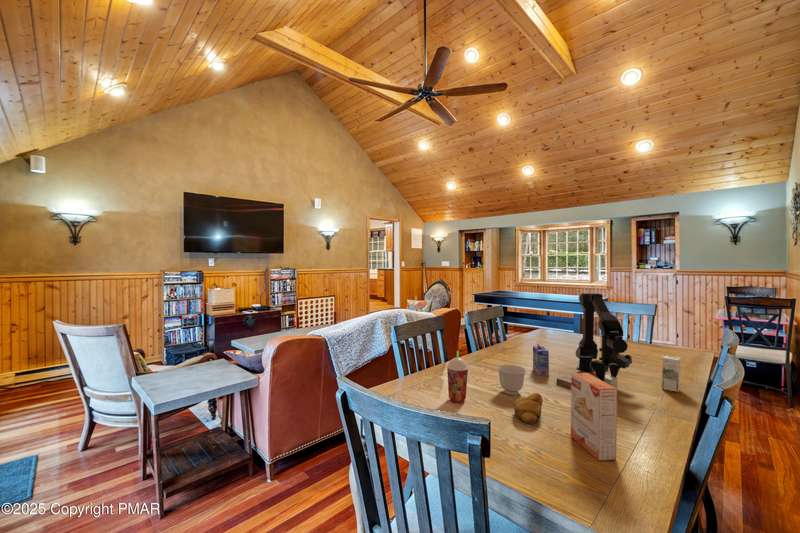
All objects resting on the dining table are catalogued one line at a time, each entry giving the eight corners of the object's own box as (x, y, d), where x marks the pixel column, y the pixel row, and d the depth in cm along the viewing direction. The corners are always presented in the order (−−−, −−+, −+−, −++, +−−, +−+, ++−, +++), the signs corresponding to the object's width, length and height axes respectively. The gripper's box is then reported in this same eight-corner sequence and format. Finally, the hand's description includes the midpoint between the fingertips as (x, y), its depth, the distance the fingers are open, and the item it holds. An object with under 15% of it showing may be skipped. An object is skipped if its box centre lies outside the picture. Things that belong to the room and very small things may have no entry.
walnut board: (569, 380, 168) (569, 374, 168) (590, 387, 159) (590, 380, 159) (556, 384, 162) (556, 378, 162) (577, 391, 154) (577, 384, 154)
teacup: (528, 387, 157) (528, 365, 157) (524, 399, 144) (525, 375, 143) (500, 383, 162) (500, 361, 162) (494, 394, 149) (494, 371, 149)
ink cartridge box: (531, 369, 183) (532, 341, 183) (543, 369, 183) (543, 341, 182) (537, 375, 173) (537, 346, 173) (549, 376, 173) (549, 346, 173)
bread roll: (539, 428, 120) (540, 405, 120) (509, 422, 124) (510, 399, 124) (543, 413, 131) (543, 392, 131) (515, 408, 136) (516, 387, 136)
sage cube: (605, 385, 161) (605, 374, 161) (617, 389, 157) (617, 377, 156) (599, 387, 158) (599, 376, 158) (610, 391, 154) (611, 379, 154)
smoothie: (469, 398, 145) (469, 349, 145) (466, 406, 137) (466, 354, 137) (448, 395, 148) (449, 347, 147) (444, 403, 140) (445, 352, 139)
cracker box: (569, 436, 114) (570, 372, 114) (587, 436, 115) (588, 372, 114) (596, 461, 100) (598, 388, 100) (617, 461, 101) (618, 388, 100)
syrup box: (679, 389, 156) (680, 356, 156) (678, 393, 152) (679, 359, 151) (663, 386, 160) (664, 354, 160) (661, 389, 156) (662, 356, 155)
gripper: (616, 354, 145) (615, 392, 146) (639, 348, 155) (638, 383, 155) (589, 348, 155) (589, 383, 155) (613, 342, 164) (612, 376, 165)
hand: (608, 381), depth 157 cm, fingers open, 9 cm apart
